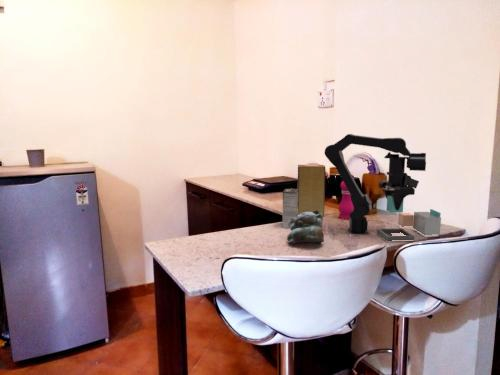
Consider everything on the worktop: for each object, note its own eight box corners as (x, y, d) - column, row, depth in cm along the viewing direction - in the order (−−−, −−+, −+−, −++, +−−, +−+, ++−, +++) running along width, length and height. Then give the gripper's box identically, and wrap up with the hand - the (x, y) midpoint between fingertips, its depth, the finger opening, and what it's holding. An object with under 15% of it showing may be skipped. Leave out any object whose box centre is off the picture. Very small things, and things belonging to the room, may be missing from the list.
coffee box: (284, 222, 168) (284, 188, 165) (298, 223, 167) (298, 188, 164) (282, 227, 159) (282, 191, 157) (296, 228, 158) (297, 192, 155)
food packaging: (322, 212, 187) (324, 164, 183) (324, 217, 178) (326, 166, 174) (296, 212, 188) (297, 164, 184) (297, 216, 179) (298, 166, 175)
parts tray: (386, 241, 139) (387, 236, 139) (376, 234, 149) (377, 228, 149) (413, 241, 139) (414, 236, 139) (401, 233, 149) (402, 228, 149)
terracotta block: (402, 228, 157) (403, 215, 156) (397, 226, 161) (398, 212, 160) (412, 228, 157) (413, 215, 156) (407, 225, 162) (408, 212, 161)
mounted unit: (424, 237, 144) (426, 214, 143) (412, 230, 154) (414, 208, 153) (440, 237, 145) (442, 213, 143) (427, 230, 154) (429, 208, 153)
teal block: (391, 212, 143) (392, 197, 142) (386, 210, 147) (387, 195, 147) (402, 212, 143) (403, 197, 142) (397, 209, 148) (398, 195, 147)
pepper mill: (353, 216, 179) (355, 176, 176) (353, 220, 172) (355, 178, 169) (338, 215, 181) (339, 175, 178) (337, 219, 174) (339, 177, 171)
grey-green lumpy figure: (279, 243, 137) (281, 208, 142) (298, 249, 145) (299, 215, 150) (313, 240, 127) (313, 202, 132) (331, 246, 135) (331, 210, 140)
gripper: (429, 172, 134) (426, 213, 137) (404, 167, 153) (402, 203, 155) (400, 172, 133) (398, 214, 136) (378, 167, 152) (377, 204, 154)
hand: (394, 208), depth 145 cm, fingers closed on teal block, 4 cm apart
